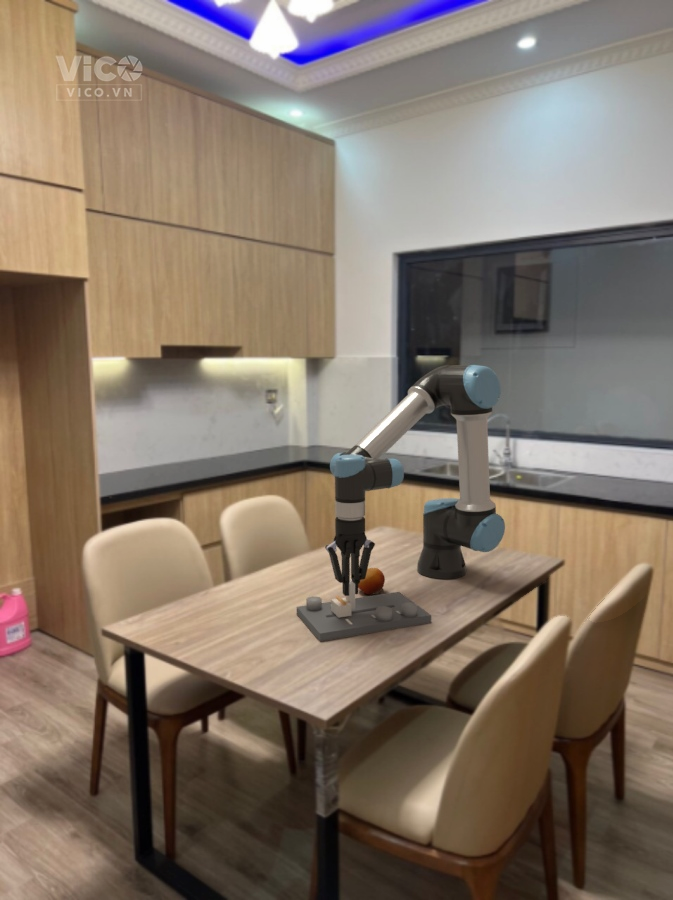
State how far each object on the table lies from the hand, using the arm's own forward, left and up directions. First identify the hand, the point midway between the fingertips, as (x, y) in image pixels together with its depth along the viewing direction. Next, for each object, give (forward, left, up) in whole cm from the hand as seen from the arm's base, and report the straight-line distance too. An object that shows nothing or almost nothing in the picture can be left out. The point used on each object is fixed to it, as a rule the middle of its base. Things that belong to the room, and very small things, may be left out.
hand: (350, 606), depth 165 cm
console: (-3, 0, -4) cm, 5 cm away
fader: (+3, 0, -2) cm, 3 cm away
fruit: (-13, -17, -4) cm, 22 cm away
